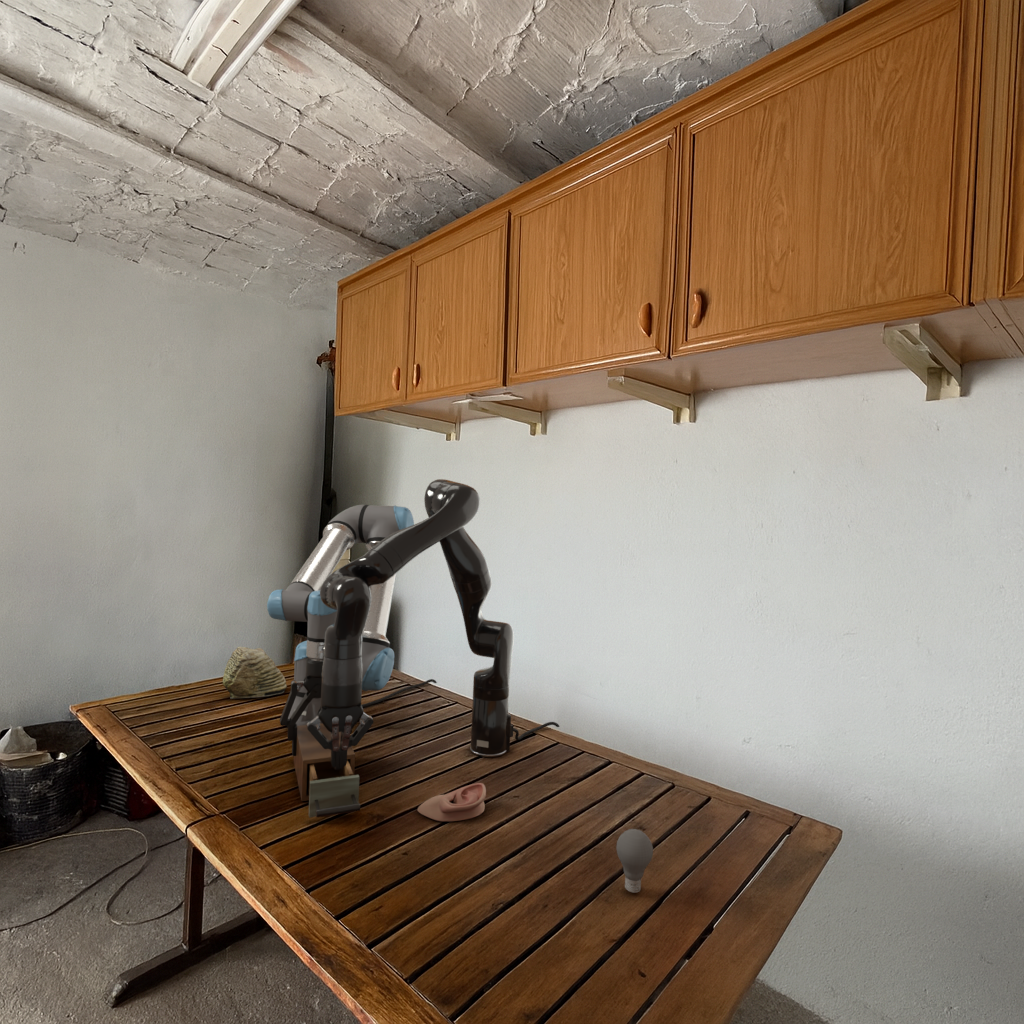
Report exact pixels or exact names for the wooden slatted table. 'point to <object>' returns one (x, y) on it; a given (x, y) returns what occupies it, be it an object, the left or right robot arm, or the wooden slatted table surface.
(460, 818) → the anatomical model
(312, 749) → the cabinet
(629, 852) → the light bulb
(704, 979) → the wooden slatted table surface
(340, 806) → the drawer
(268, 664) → the fossil
